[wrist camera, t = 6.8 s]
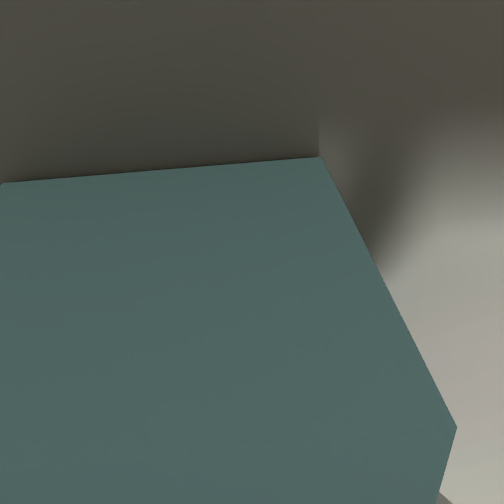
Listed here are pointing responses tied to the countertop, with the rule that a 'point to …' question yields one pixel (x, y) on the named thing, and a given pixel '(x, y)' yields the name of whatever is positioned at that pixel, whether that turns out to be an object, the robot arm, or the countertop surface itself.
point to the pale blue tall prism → (206, 345)
